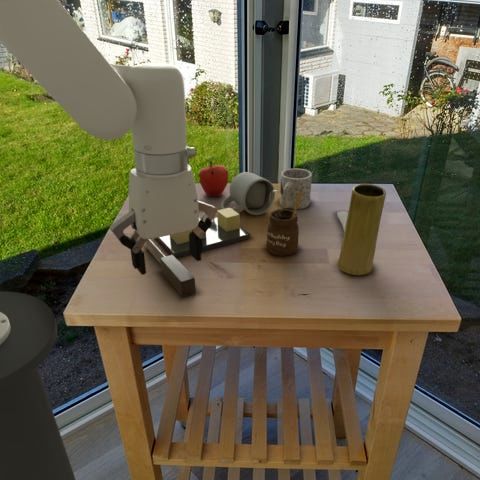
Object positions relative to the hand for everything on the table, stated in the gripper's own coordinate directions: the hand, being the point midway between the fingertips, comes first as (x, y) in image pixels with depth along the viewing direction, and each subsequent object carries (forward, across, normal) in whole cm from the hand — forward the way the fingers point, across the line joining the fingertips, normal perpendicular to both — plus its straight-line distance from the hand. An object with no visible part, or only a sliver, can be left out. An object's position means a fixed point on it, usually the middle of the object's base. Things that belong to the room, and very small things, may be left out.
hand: (168, 263), depth 81 cm
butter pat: (+2, -18, -13) cm, 22 cm away
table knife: (+4, -1, -5) cm, 6 cm away
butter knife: (+3, -37, +2) cm, 37 cm away
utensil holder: (+3, -23, -1) cm, 23 cm away
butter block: (+3, -9, -13) cm, 16 cm away
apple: (+3, -24, -31) cm, 39 cm away
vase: (+3, -30, +11) cm, 33 cm away
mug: (+3, -36, -17) cm, 40 cm away
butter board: (+4, -12, -13) cm, 18 cm away
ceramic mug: (+3, -26, -20) cm, 33 cm away
